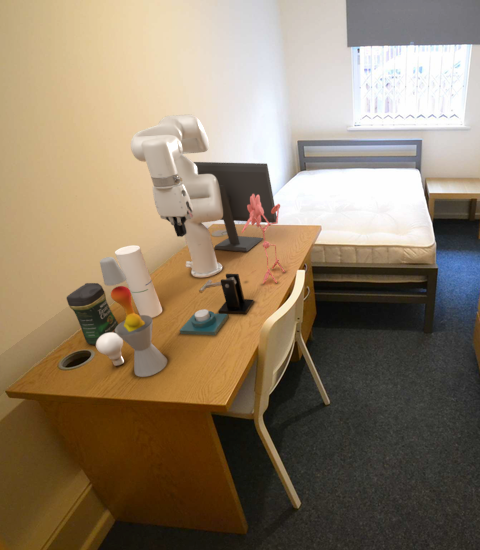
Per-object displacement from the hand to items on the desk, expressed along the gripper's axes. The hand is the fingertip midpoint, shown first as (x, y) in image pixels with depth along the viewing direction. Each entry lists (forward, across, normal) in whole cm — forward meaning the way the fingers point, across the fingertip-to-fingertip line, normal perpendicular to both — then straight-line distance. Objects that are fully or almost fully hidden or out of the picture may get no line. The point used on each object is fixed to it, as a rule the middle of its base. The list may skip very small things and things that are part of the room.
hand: (182, 235), depth 123 cm
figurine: (+27, -18, -20) cm, 38 cm away
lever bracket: (+27, -15, +3) cm, 31 cm away
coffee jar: (+27, +22, +22) cm, 41 cm away
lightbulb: (+27, +8, +34) cm, 44 cm away
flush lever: (+18, -11, +3) cm, 21 cm away
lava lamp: (+27, -2, +34) cm, 44 cm away
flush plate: (+27, -8, +14) cm, 32 cm away
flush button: (+24, -8, +14) cm, 29 cm away
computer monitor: (+27, +7, -52) cm, 59 cm away
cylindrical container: (+27, +15, +8) cm, 32 cm away
